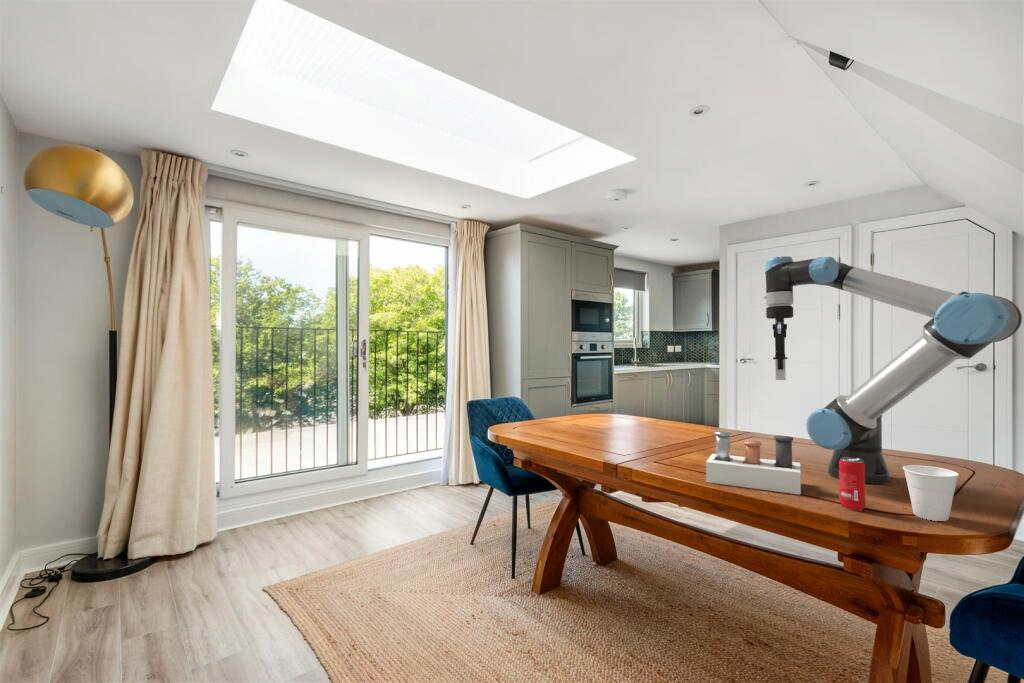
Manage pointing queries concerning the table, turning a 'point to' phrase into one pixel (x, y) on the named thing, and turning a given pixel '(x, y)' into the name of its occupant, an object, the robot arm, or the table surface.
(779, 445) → the plug black
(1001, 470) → the table surface
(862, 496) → the beverage can
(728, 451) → the plug grey
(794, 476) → the socket board
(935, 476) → the cup
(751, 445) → the plug rust
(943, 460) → the table surface
